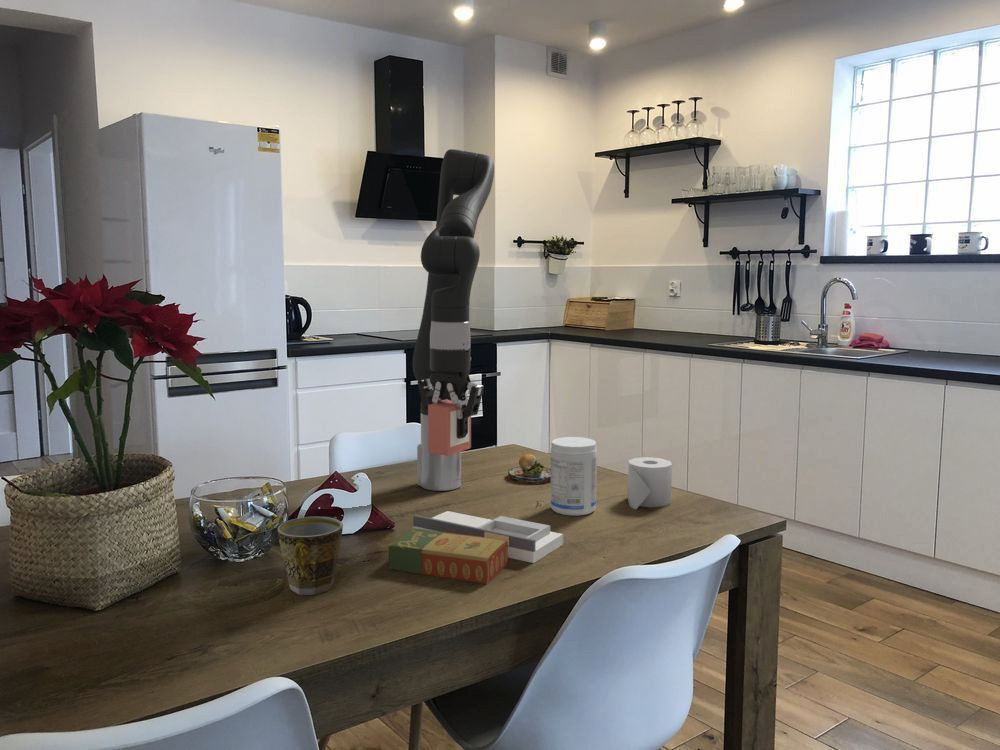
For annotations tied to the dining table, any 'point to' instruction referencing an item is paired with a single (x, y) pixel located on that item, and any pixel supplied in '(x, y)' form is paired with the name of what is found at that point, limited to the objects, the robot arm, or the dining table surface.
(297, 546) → the ceramic cup
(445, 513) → the shelf strip
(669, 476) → the toilet tissue
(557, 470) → the supplement tub
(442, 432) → the tea box
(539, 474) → the burger
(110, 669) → the dining table surface
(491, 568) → the carton
